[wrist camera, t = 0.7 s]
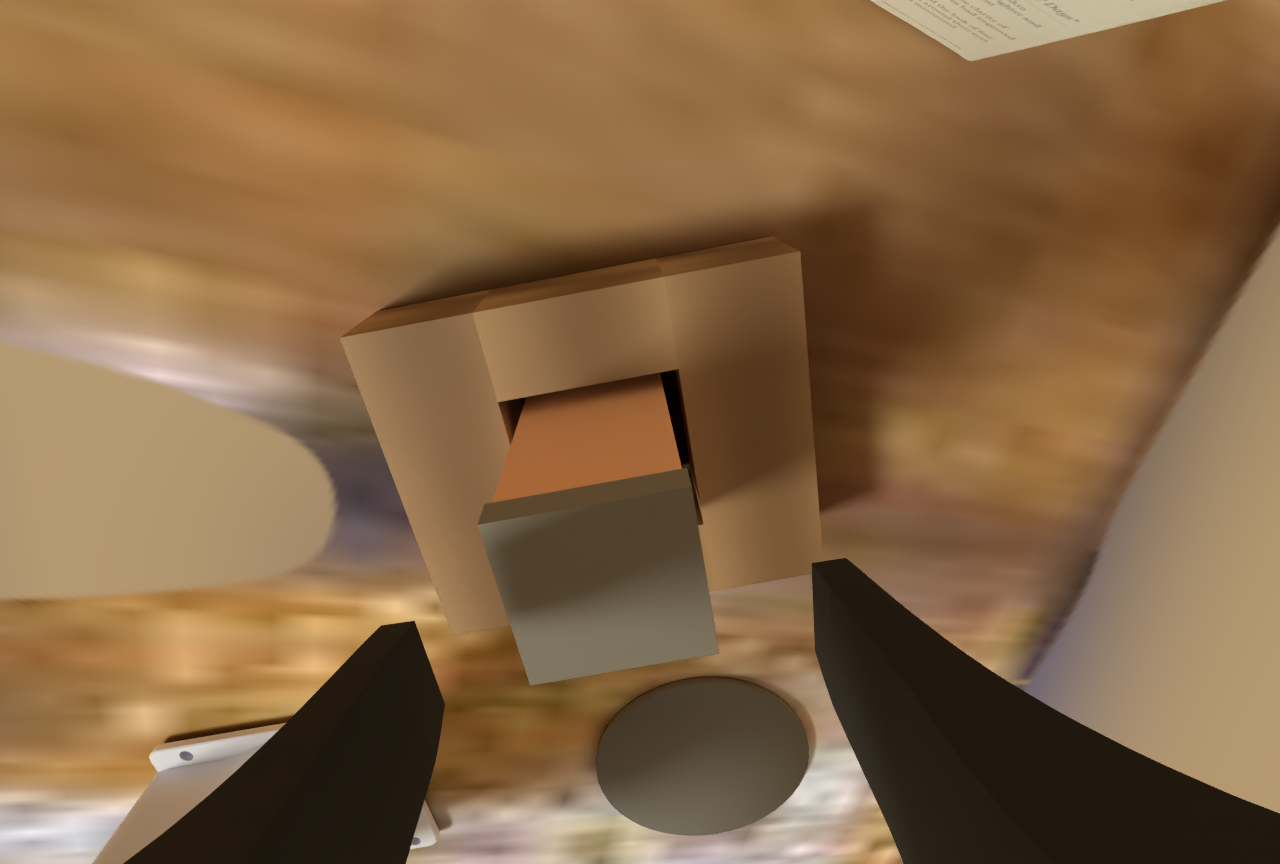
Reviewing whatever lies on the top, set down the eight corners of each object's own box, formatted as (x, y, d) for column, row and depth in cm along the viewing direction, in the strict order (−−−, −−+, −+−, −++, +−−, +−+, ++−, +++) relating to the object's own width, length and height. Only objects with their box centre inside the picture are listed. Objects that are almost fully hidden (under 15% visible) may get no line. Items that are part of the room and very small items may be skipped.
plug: (558, 490, 22) (530, 685, 14) (528, 376, 20) (477, 524, 12) (678, 469, 22) (719, 653, 14) (658, 352, 20) (691, 486, 12)
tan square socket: (470, 578, 23) (453, 635, 21) (377, 310, 19) (339, 337, 17) (798, 521, 23) (823, 571, 20) (772, 236, 19) (800, 251, 16)
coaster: (618, 840, 30) (618, 849, 29) (576, 697, 26) (576, 705, 26) (812, 809, 29) (815, 817, 29) (798, 660, 26) (800, 667, 25)
